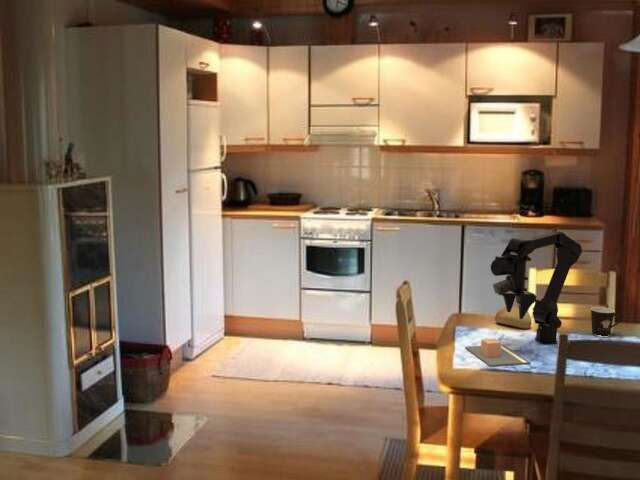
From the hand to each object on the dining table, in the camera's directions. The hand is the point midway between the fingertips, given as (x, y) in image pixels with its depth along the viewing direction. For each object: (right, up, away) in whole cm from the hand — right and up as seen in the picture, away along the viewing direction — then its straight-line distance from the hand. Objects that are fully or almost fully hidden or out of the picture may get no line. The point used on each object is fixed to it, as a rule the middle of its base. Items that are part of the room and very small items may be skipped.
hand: (514, 315), depth 264 cm
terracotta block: (-11, -13, -9) cm, 19 cm away
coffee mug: (+40, -10, +19) cm, 45 cm away
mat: (-9, -13, -8) cm, 18 cm away
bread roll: (+7, -8, +30) cm, 32 cm away
